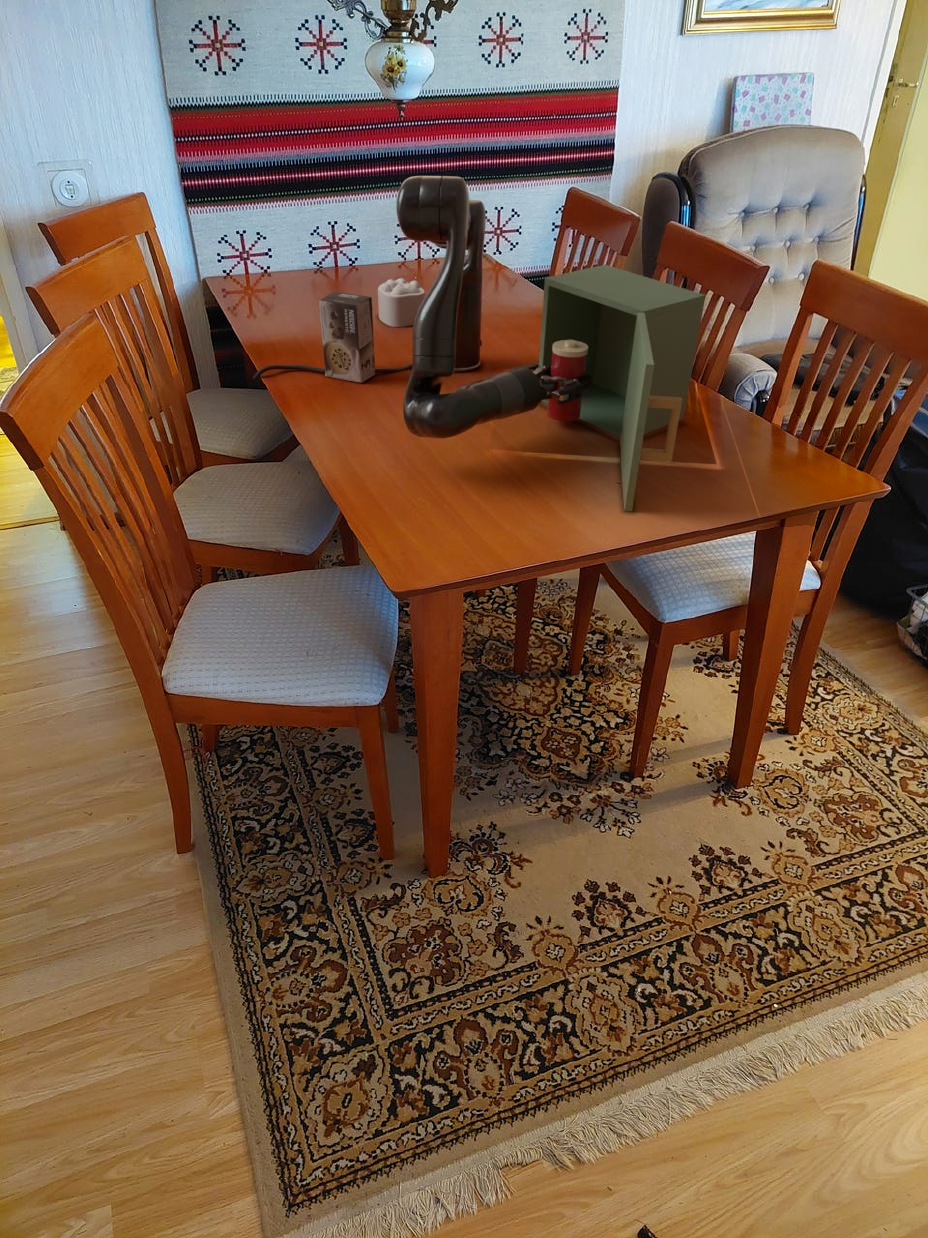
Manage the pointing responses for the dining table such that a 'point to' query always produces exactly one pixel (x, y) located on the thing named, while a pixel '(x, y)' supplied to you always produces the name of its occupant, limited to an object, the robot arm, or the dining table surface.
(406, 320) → the white lumpy-topped cup
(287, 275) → the dining table surface
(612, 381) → the cupboard
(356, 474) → the dining table surface
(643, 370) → the cupboard door
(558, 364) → the red canister
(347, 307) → the coffee box
